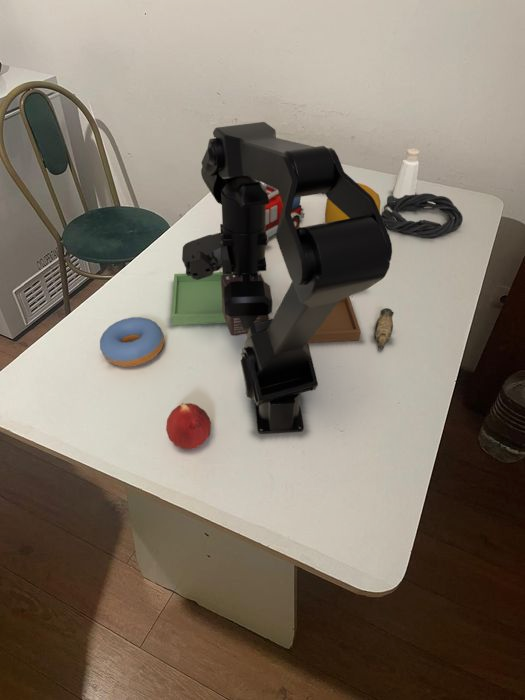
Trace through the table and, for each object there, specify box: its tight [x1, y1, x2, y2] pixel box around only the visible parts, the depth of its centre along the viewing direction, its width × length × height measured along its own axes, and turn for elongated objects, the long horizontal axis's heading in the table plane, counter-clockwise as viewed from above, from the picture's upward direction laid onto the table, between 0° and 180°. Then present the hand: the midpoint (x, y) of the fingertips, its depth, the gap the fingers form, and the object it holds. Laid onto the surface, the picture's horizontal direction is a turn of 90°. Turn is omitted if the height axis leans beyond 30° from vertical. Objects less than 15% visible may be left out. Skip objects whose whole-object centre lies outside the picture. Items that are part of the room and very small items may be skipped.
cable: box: [381, 192, 464, 238], centre depth 113 cm, size 17×14×4 cm
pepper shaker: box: [392, 147, 420, 198], centre depth 120 cm, size 5×5×11 cm
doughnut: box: [99, 316, 165, 368], centre depth 82 cm, size 10×10×5 cm
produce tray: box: [170, 271, 233, 326], centre depth 92 cm, size 12×12×2 cm
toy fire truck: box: [262, 183, 305, 247], centre depth 107 cm, size 9×19×10 cm, turn 137°
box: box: [221, 271, 270, 337], centre depth 77 cm, size 6×6×7 cm
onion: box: [165, 402, 212, 450], centre depth 68 cm, size 6×6×8 cm
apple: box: [324, 182, 382, 223], centre depth 103 cm, size 11×11×13 cm
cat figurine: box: [374, 307, 395, 351], centre depth 85 cm, size 3×8×4 cm, turn 165°
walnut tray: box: [308, 296, 361, 344], centre depth 88 cm, size 10×10×2 cm
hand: (245, 313), depth 79 cm, fingers closed on box, 6 cm apart
